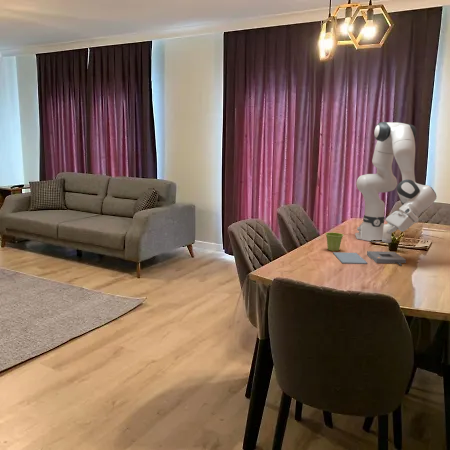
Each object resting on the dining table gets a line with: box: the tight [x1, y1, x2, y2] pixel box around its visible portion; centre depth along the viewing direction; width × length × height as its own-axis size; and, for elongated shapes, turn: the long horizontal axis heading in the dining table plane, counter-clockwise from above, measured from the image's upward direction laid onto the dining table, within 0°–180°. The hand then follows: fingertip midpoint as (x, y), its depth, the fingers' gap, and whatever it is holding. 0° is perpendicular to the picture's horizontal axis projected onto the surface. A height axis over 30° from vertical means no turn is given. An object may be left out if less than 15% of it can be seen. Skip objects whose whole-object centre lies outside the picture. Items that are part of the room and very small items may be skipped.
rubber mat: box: [332, 251, 368, 265], centre depth 236 cm, size 20×12×1 cm, turn 0°
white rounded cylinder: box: [381, 223, 393, 244], centre depth 234 cm, size 5×5×8 cm
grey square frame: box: [366, 250, 407, 267], centre depth 234 cm, size 21×14×2 cm, turn 0°
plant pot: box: [325, 231, 344, 252], centre depth 253 cm, size 9×9×9 cm
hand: (386, 232), depth 234 cm, fingers closed on white rounded cylinder, 4 cm apart
